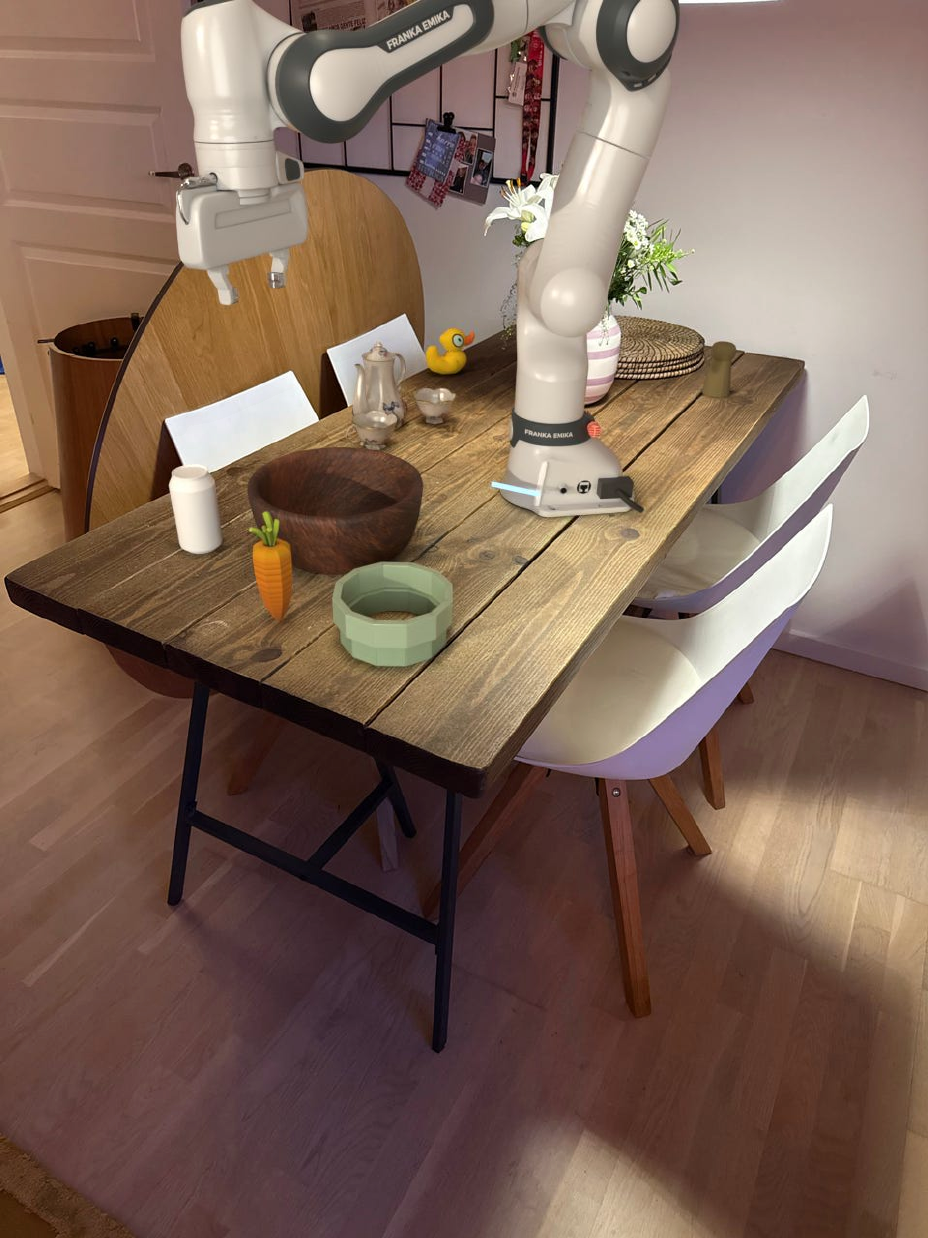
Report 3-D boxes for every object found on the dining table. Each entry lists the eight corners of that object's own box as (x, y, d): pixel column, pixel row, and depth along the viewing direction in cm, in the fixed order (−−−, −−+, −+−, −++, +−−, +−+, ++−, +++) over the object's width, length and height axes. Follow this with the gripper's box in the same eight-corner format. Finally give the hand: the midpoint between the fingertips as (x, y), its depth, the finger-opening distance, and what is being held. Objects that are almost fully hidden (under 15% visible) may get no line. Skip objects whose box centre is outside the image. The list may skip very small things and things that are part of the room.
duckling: (468, 367, 202) (470, 323, 196) (477, 374, 198) (479, 329, 192) (422, 371, 198) (422, 327, 193) (430, 379, 194) (430, 333, 189)
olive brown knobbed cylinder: (700, 387, 195) (709, 337, 189) (727, 389, 194) (737, 339, 188) (702, 396, 190) (712, 345, 184) (730, 398, 189) (741, 347, 183)
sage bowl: (451, 605, 117) (452, 562, 113) (451, 671, 105) (452, 625, 101) (342, 603, 116) (340, 560, 113) (329, 669, 104) (326, 623, 101)
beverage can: (230, 539, 130) (220, 464, 123) (212, 559, 125) (200, 482, 118) (192, 534, 131) (180, 460, 124) (172, 554, 126) (158, 477, 119)
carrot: (290, 633, 110) (279, 528, 102) (253, 628, 111) (239, 523, 103) (304, 612, 114) (294, 509, 106) (268, 607, 115) (256, 505, 107)
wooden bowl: (401, 596, 118) (400, 528, 113) (227, 575, 122) (217, 508, 116) (438, 514, 139) (438, 454, 133) (288, 498, 142) (282, 439, 136)
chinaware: (381, 469, 156) (387, 380, 147) (309, 439, 162) (310, 352, 153) (463, 423, 176) (473, 342, 167) (396, 398, 183) (402, 319, 173)
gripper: (197, 180, 90) (218, 317, 98) (311, 162, 106) (322, 281, 113) (151, 177, 93) (175, 311, 100) (270, 160, 108) (283, 277, 116)
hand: (254, 295), depth 107 cm, fingers open, 8 cm apart
